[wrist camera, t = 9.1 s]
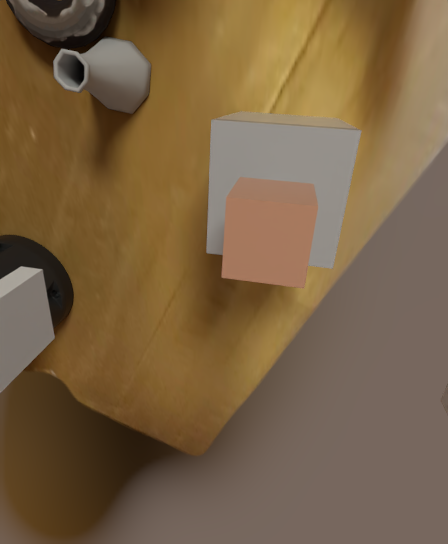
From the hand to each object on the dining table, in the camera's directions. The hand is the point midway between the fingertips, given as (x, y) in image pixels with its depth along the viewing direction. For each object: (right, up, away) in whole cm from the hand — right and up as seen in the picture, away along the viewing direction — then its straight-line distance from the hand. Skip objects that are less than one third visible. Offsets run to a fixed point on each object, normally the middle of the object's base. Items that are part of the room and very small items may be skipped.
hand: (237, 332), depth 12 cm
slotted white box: (+6, +14, +29) cm, 33 cm away
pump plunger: (+5, +12, +25) cm, 28 cm away
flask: (-12, +23, +28) cm, 38 cm away
